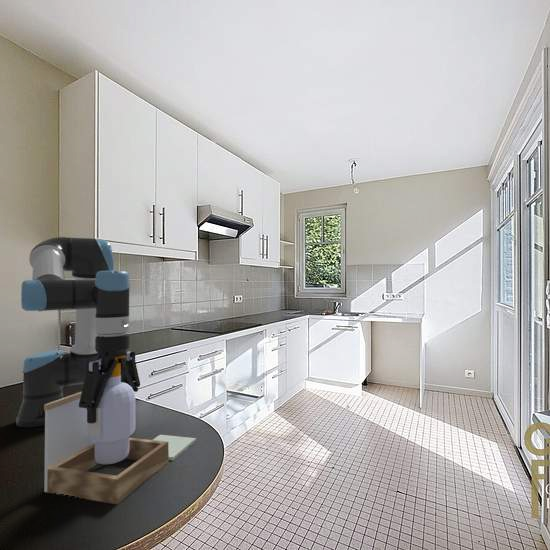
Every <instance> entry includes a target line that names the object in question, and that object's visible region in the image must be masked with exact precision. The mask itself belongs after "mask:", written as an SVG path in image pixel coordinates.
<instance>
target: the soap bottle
mask: <svg viewBox="0 0 550 550" xmlns="http://www.w3.org/2000/svg"><path fill="white" fill-rule="evenodd" d="M118 358H126V356H117V357H115V360H117V365H116V367H115V368H114V370H113V373H112V376H111V378H109V379H108V381H107V384H106V387H105V389H104V392H103V394H102V397H101V400H100V402H99V405H98V407H101V436H100V437H99V438H98V437H90V436H89V423H88V438H89V440H90V441H92V442H95V453H94V458H95V461H96V462H97V463H99V464H98V465H105V466H107V465H112V464H118V463H119V462H121V461H123V460H126V459H125V458H126V457H127V456H128V454H129V438H130V436H132V435H133V434H134V433H135V430H136V392H134V391H133V389H132V387H131V386H130V385H128V384H127V383H124V382H121V363H118ZM93 403H94V401H93Z"/></svg>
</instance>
